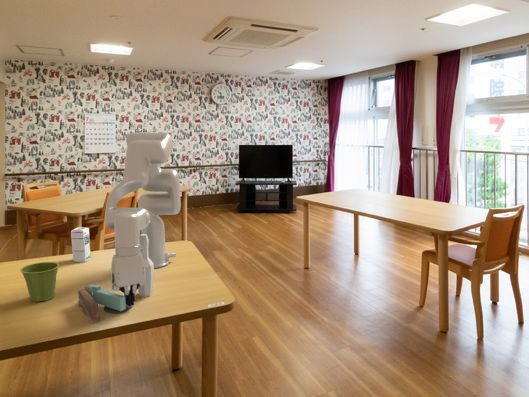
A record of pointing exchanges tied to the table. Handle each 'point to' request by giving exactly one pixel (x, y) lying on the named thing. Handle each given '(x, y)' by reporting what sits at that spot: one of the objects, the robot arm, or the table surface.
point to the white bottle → (146, 269)
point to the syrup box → (81, 244)
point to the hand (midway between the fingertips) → (129, 304)
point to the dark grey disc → (110, 310)
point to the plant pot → (40, 280)
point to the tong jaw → (108, 298)
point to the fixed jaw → (88, 303)
